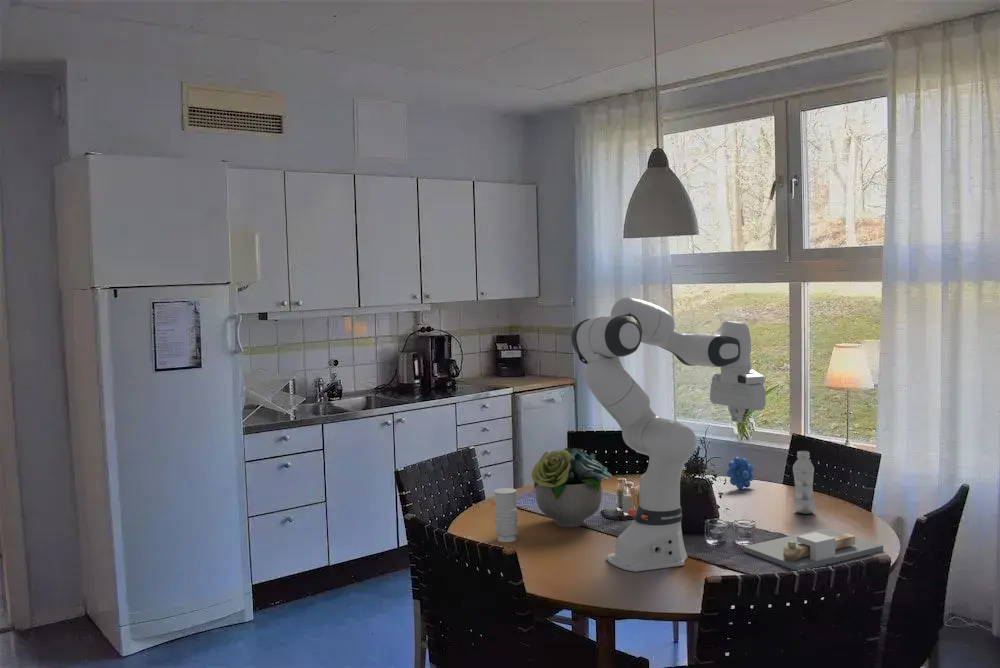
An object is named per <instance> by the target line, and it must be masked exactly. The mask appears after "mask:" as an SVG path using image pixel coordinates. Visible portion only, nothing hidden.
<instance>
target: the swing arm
mask: <svg viewBox="0 0 1000 668" xmlns="http://www.w3.org/2000/svg"><path fill="white" fill-rule="evenodd" d="M832 537H833V538H835V549H839V548H843V547H847V546H851V545H855V537H856V536H855V535H853V534H850V533H844V534H841V535H837V536H832ZM809 555H810V546H808V545H805V544H802V543H801V544H797V545H796V547H795V548H790V547H788V546H784V547H783V557H784V558H787V559H792V560H796V559H800V558H801V557H804V556H809Z"/></svg>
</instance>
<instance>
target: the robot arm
mask: <svg viewBox="0 0 1000 668" xmlns="http://www.w3.org/2000/svg"><path fill="white" fill-rule="evenodd" d="M675 326H676V325H675V319H674V317H673V315H672V313H670V312H669V311H667V310H666V309H665V308H663V307H661V306H659V305H657V304H653V303H652V302H649V301H646V300H642V299H638V298H635V297H634V298H633V297H629V296H626V297H623V298H620V299H618V300H617V301H616V302H615V303H614V304H613V306H612V308H611V311H610V315H609V316H600V317H594V318H587V319H585V320H582V321H580V322H579V323H577V324H576V325H575V326H574V327H573V329H572V331H571V334H570V335H571V336H570V338H571V340H570V341H571V344H572V348H573V349H574V351H575V353H576V354H577V356H578V359H579V360H580V362H582V363H583V364H585V367H584V370H583V373H582V374H583V376H582V377H583V381H584V382H585V384H586V386H587V387H588V389H589V390H590V393H592V394H593V396H594V398H595V399H596V400H597V401H598V402H599V403H600V405H601V406H602V407H603V408H604V409H605V411H606V412H607V413H609V415H610V416H611V417H612V418H613V419H614V420H615V421H616V423H617V425H618V426H619V428H620V429H621V434H622V435H621V436H622V440H623V442H624V443H625V445H626V446H628V447H629V448H630V449H631V450H633V451H634V452H636V453H639V454H642V455H645V456H648V458H649V460H648V466H647V468H646V471H645V472H644V473H643V474H641V476H640V478H639V483H638V486H639V505H638V507H637V510H636V509H633V508H628V510H627V515H628V516H629V517H633V518H634V521H633V522H631V524H630V525H629V526H628V527H627V528H626V529H625V530H623V531H622V533H620V534H619V535H618V536H617V538H616V540H615V546H614V552H611V553H609V554H607V555H606V560H607V562H609V563H610V564H611V565H612V566H615V567H617V568H619V569H622V570H625V571H630V572H644V571H645V572H646V571H650V570H652V571H653V570H660V569H666V568H674V567H680V566H685V563H686V562H685V561H686V560H687V559H688V554H687V551H686V548H685V543H684V538H683V530H682V520H683V511H682V509H683V508H682V506H681V478H682V472H683V468H684V466H685V464H686V462H687V461H688V460H689V459H690V458H691V457H692V456H693V455H694V453H695V451H696V449H697V438H696V437H697V436H696V434H695V432H694V430H693V429H691V428H690V427H689V426H687V425H685V424H683V423H682V422H680V421H677V420H671V419H668V418H663V417H661V416H659V415H658V414H656V413H654V411H653V410H652V408H651V405H650V404H651V400H650V396H649V395H648V394H647V393H646V392H645V391H644V389H643V388H642V387H641V386H640V385H639V384H638V383H637V382H636V380H635V379H634V378H633V376H631V375H630V374H629V373H628V371H626V370H625V368H624V367H623V365H622V362H621V360H620V357H627V356H629V355H631V354H633V353H635V352H636V351H637V350H638V349H639V347H640V346H641V343H642V344H645V345H649V346H653V347H654V346H655V347H660V348H661V349H664V350H665V351H668V352H670V353H672V355H674V356H675V357H676V359H678V361H679V362H680V363H682V364H683V365H685V366H691V367H692V366H693V367H694V366H697V367H698V366H699V367H710V368H720V373H718V372H717V373H715V374H714V375H713V376H712V377H711V383H710V391H709V392H710V393H709V400H710V402H711V404H714V405H720V406H726V407H727V409H728V411H729V414H730V417H731V418H730V419H731V422H735V423H743V420H744V419H743V418H744V414H745V412H746V410H751V411H752V410H753V411H759V410H764V408H766V407H765V406H766V404H767V403H766V399H767V398H766V388H765V385H763V384H764V383H765V379H766V378H765V376H764V375H763V374H761V373H758V372H757V371H756V370H754V369H752V362H751V352H752V341H751V340H752V339H751V332H750V329H749V325H747V324H746V323H745V322H741V321H731V320H729V321H728V320H727V321H726V320H725V321H723V322H722V324H721V326H720V327H719V328H717V329H716V330H715V331H712V332H710V333H697V332H690V331H688V332H687V331H686V332H682V333H681V332H680V331H677V330H675V328H676V327H675Z"/></svg>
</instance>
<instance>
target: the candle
mask: <svg viewBox="0 0 1000 668" xmlns="http://www.w3.org/2000/svg"><path fill="white" fill-rule="evenodd" d="M493 492H494V497H495V498H494V501H495V508H494V515H495V516H494V518H495V520H494V523H495V534H496V535H497V536H498V537H497V541H498V542H500V543H512V542H516V541H517V536H516V535H517V534H518V533H519V529H518V521H519V520H518V507H517V489H516V488H511V487H501V488H496V489H494V491H493Z"/></svg>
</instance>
